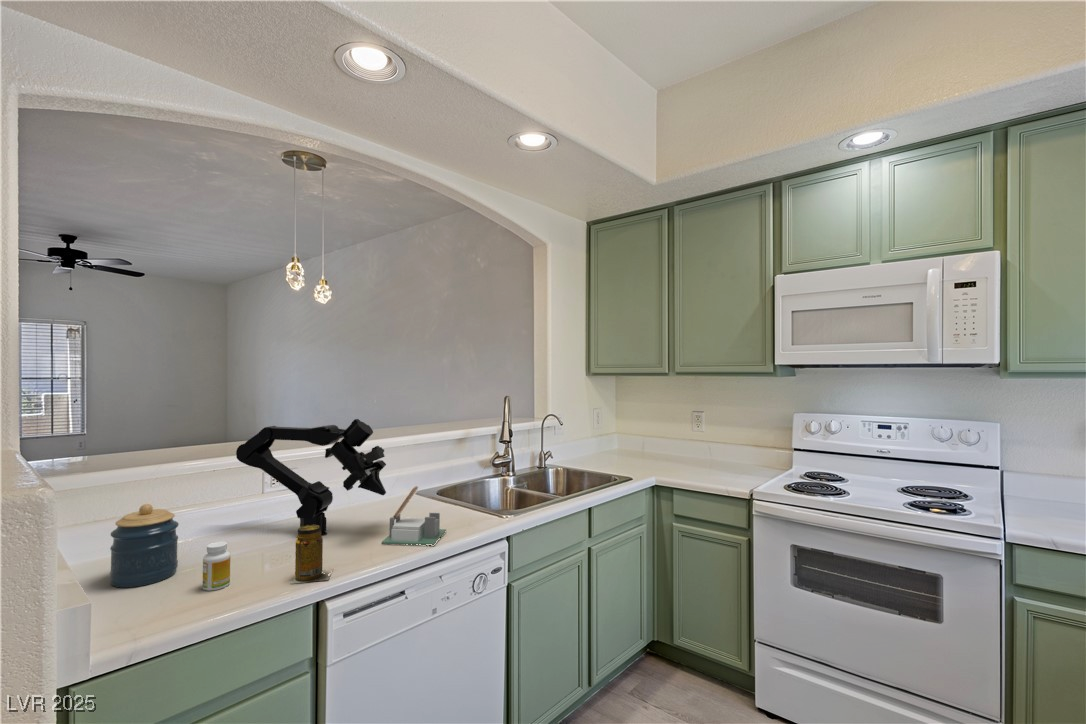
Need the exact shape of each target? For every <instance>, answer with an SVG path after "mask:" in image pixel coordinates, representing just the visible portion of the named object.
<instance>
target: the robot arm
mask: <svg viewBox="0 0 1086 724" xmlns="http://www.w3.org/2000/svg"><path fill="white" fill-rule="evenodd" d="M373 434H374V430H373V428H372V427H371V426H370V425H369V424H366V423H365V422H363V421H361V420H360V419H359V418H356V419H354V420H352V421H351V423H350V425H349V426H347V428H346V429H344V428H343V429H342V428H339V426H338V425H335V424H328V425H321V426H316V427H296V426H295V427H294V426H293V427H291V426H277V425H270V426H266V427H263V428H262V429H261V430H260V431H259V432H257V433H256V434H255V435H254V436H252V437H250V438H249V439H248V440H247V441H246V442H245V443H243V444H239V445H238V447H237V448H236V451H235V454H236V456H235V457H236V459H237V461H239V462H241V463H242V464H244V465H246V466H248V467H253V468H258V469H260V470H262V471H263V472H265V473H266V475H268V476H270V477H272V479H274V480H276V481H277V482H279V484H281V485H282V486H284V488H287V489H288V490H289V491H290V492H292V493H294V495H296V496H297V498H298V501H299V502H300V505H301V506H300V507H299V508H297V509H296V511H295V513H296V516H297V519H299V528H300V527H303V526H307V525H318V526H321V536H325V535H327V534H328V532H327V517H326V515H325V514H326V513H325V512H327V511H328V508H329V506H331V504H332V503H333V500H334V497H333V492H332V491H331V490H330V487H329V486H326V485H324V484H323V482H322V481H320V480H319V481H315V482H313V483H311V482H309V481H307V480H306V479H304V477H302V476H300V475H299V474H297V473H296V472H295V471H293V470H292V469H291V468H289V467H288V466H287V465H285V464H284V463H282V461H279V460H278V459H277V458H276V457H274V455H273V452H272V451H271V446H273V445H274V443H275V441H295V442H296V441H301V442H308V443H310V444H313V445H317V446H321V447H322V446H323V447H324V446H329V445H331V444H333V445H332V446H331V447H328V448H325V454H324V458H325V459H328V458H331V457H332V456H333V457H334V458H335V459H336V460H337V461H338V462H339V463H340V464H341V465H342V467H341V469H342V470H343V471H346V470H347V471H348V472H349V475H348V476H347V477H346V479H344V481H343V482H342V483H343V485H342V486H343V488H344V489H345V490H346V491H347V492H348V491H350V490H352V489H353V488H354V485H355V484H356V483H357V482H358V481H359V485H358V486H357V488H358V489H363V490H366V491H369V492H372V493H374V494H377V495H380V496H384V495H386V494H387V491H386V489H385V487H384V485H383V482H382V481H381V478H380V472H381V471H382V470H383V469H384V468H385V467H386V466H387V463H386V462H384V460H381V459H382V458H385V457H386V455H385V454H384V453H385V449H384V448H383V447H380V446H379V445H375V446H374V447H372V448H371V450H370V451H369V452H367V453H365V452H363V451H361V452H359V451H358V450H357V449H356V447H359V448H360V447H361V446H362V445H363V444H364V443H365V442H366V441H367V440H368V439H369V438H370V437H371V435H373ZM340 439H341V440H340ZM339 440H340V441H339Z"/></svg>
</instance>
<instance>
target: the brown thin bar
mask: <svg viewBox="0 0 1086 724" xmlns="http://www.w3.org/2000/svg"><path fill="white" fill-rule="evenodd" d="M418 489H419V487H418V486H417V485H416V486H414V487H413V488H412V489H411V490H410V492H409V494H408V495H407V496H406V498H405V499H404V501H402V504H400V506H399V508H398V509H397V511H395V513H394V514H393V516H392V517H394V521H396V518H398V517H399V515H400V516H401V513H402V512H403V510H404V509H405V508H406V506H407V504H408V503H409V502H410V500H411V499H412V497H413V496H414V494H415V493H416V492H417V490H418Z"/></svg>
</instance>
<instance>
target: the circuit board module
mask: <svg viewBox="0 0 1086 724" xmlns="http://www.w3.org/2000/svg"><path fill="white" fill-rule="evenodd" d="M440 515H441V513H440V512H429V516H425V517H408V516H405V517H401V514H400V515H399V517H398V518H396V519H395V520H394V517H393V516H391V517H390V518H389V535H388V536H387V537H385V538H384V539H383V540H382V541H381V544H405V545H406V544H408V545H411V544H412V545H416V544H418V545H419V544H421V545H426V544H432V545H434V544H435V543H436V541H437V540H438V539H439V538H440V537H441V536H442V535H443V534H444V533H445V531H446V532H447V529H445V528H444V529H443V528H441V527H440V524H441V523H440V522H441V521H440V520H441V519H440ZM445 534H446V533H445ZM445 534H444V535H445ZM444 535H443V536H444ZM443 536H442V537H443ZM436 544H437V543H436ZM405 545H404V546H405Z"/></svg>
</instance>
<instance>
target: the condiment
mask: <svg viewBox="0 0 1086 724" xmlns="http://www.w3.org/2000/svg"><path fill="white" fill-rule="evenodd" d="M296 538H297V539H296V541H295V561H294V562H295V565H294V567H295V568H294V577H293V578H292V579H291V581H290V583H289V584H290V585H291V584H292V585H293V584H305V583H311V582H320V581H321V582H322V581H328V580H330V578H331V576H330V577H329V576H328V574H329V573H331V571H334V568H329V569H327V568H325V569H323V560H324V559H323V549H324V548H323V547H324V543H323V542H324V540H323V539H324V537H323V535H321V526H318V525H307V526H303V527H300V526H299V528H298V529H297V537H296ZM322 572H323V573H322ZM324 573H325V574H324Z"/></svg>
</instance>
